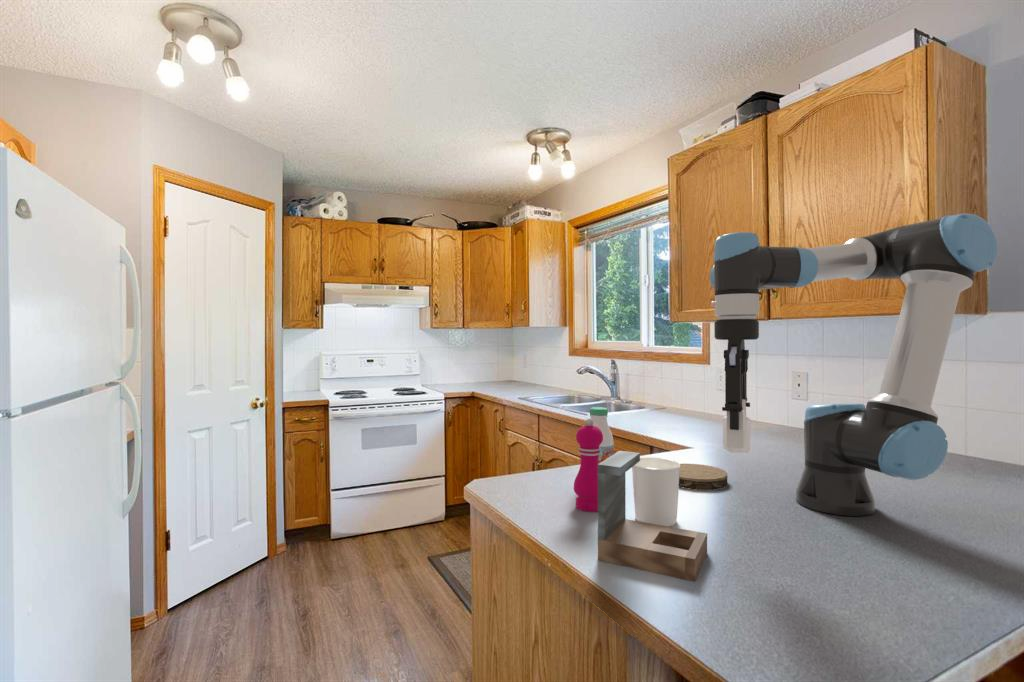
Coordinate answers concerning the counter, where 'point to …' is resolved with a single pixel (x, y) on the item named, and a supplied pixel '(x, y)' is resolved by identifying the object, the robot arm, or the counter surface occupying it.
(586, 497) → the pepper mill
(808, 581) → the counter surface
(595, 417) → the milk bottle
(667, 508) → the candle holder
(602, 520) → the socket stand
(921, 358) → the robot arm
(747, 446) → the salt shaker
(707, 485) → the tan flat round disc
